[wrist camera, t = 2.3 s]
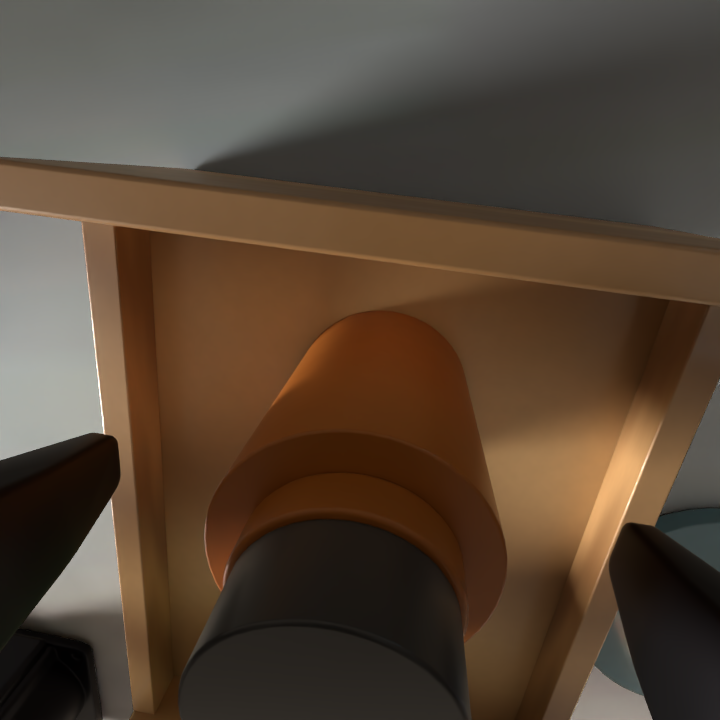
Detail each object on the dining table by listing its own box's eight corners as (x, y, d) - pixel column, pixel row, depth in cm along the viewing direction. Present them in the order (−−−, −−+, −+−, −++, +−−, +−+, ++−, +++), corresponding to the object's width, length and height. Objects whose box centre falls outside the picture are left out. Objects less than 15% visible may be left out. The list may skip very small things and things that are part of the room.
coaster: (767, 703, 19) (781, 724, 18) (545, 661, 20) (550, 680, 19) (882, 531, 16) (905, 548, 15) (611, 487, 16) (620, 502, 16)
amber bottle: (449, 474, 13) (493, 893, 5) (295, 448, 13) (125, 810, 6) (482, 323, 11) (614, 616, 4) (305, 298, 12) (88, 520, 4)
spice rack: (506, 667, 20) (552, 924, 13) (195, 608, 21) (85, 818, 14) (654, 226, 13) (916, 274, 6) (184, 168, 14) (-42, 153, 7)
